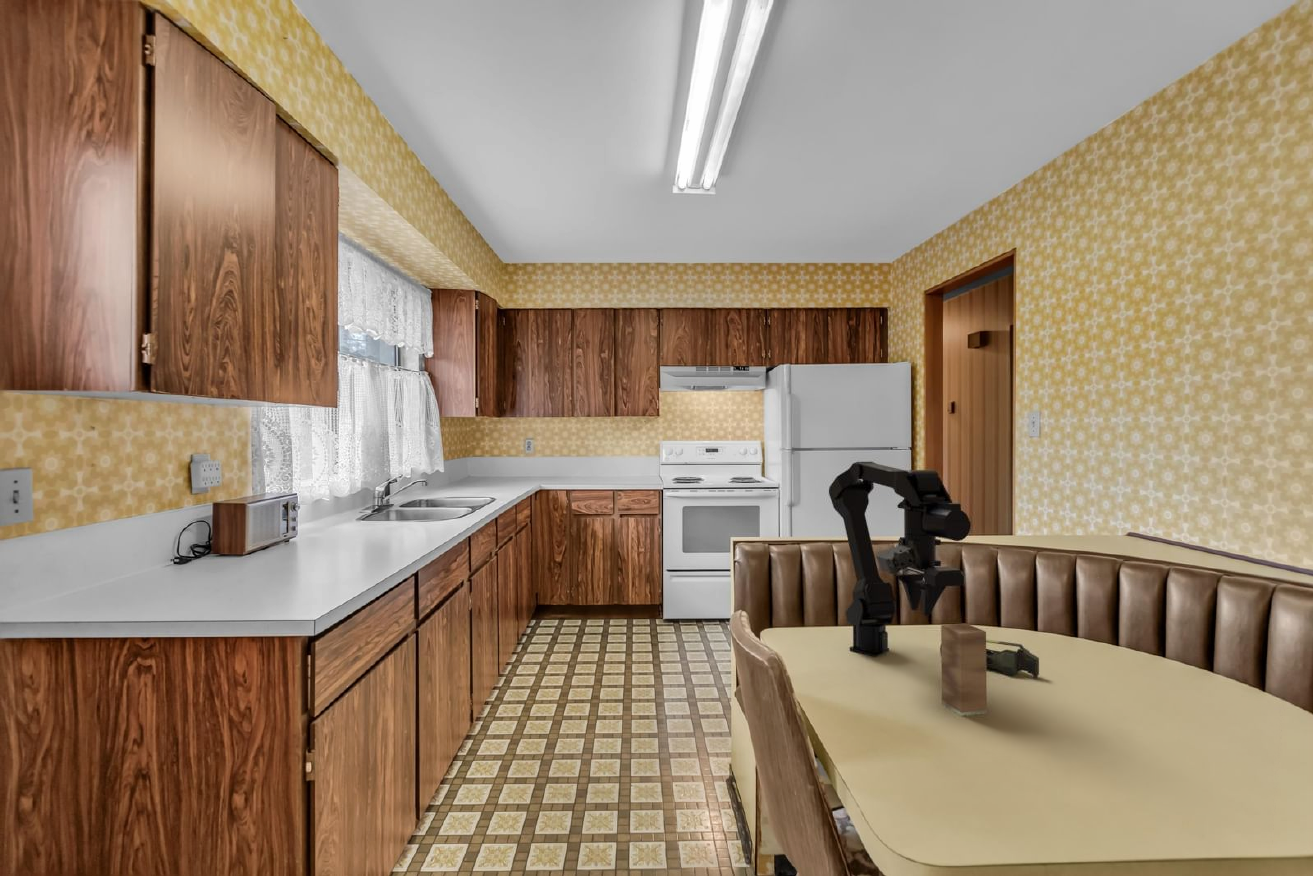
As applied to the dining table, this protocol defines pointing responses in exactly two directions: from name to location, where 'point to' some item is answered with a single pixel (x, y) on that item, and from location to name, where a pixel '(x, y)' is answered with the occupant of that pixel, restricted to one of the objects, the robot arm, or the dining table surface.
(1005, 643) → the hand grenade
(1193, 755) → the dining table surface
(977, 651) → the walnut block
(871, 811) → the dining table surface
